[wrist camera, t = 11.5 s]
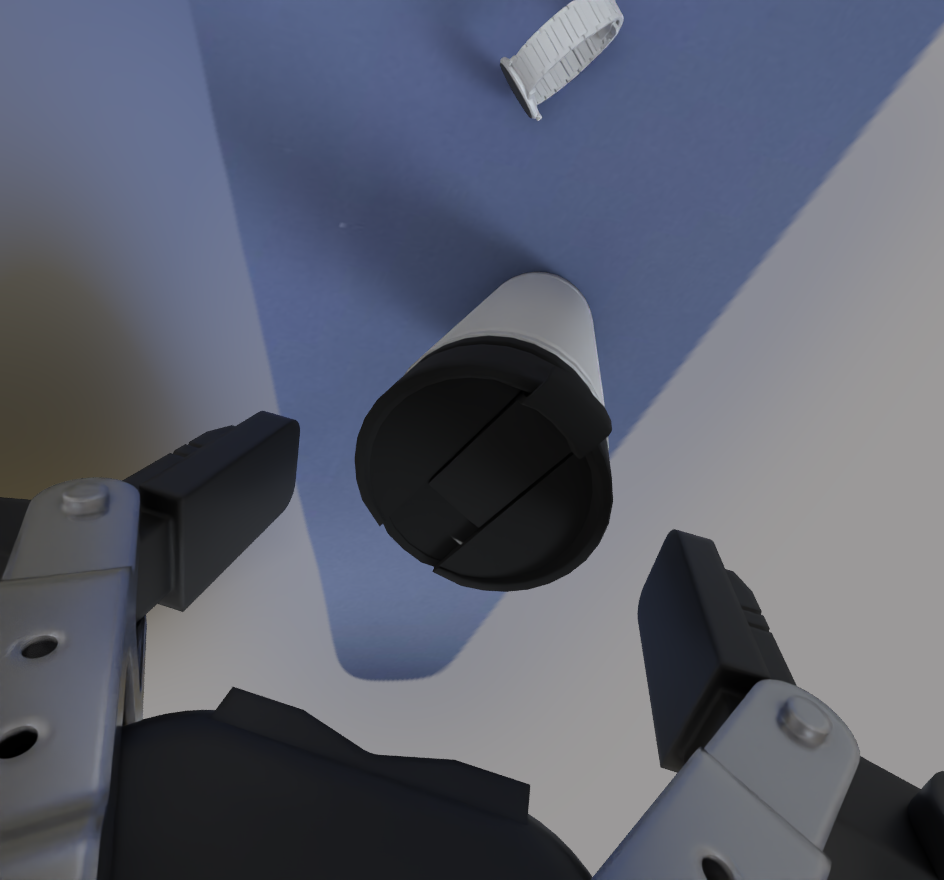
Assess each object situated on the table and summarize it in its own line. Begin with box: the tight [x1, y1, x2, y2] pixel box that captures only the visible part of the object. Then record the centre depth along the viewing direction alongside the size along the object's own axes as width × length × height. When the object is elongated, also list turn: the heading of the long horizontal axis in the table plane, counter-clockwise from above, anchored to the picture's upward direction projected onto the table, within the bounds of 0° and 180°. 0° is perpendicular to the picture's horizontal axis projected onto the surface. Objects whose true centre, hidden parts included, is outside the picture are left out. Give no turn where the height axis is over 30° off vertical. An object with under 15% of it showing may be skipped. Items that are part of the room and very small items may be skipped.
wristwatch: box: [500, 0, 624, 121], centre depth 23 cm, size 3×5×5 cm, turn 126°
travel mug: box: [355, 272, 613, 592], centre depth 21 cm, size 6×7×20 cm
